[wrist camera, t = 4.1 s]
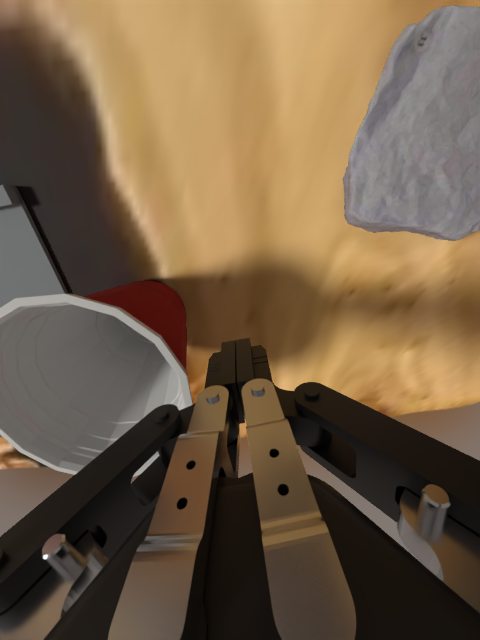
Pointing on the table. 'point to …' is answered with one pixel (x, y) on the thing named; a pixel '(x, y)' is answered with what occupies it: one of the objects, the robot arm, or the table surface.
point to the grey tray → (23, 253)
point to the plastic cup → (89, 369)
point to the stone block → (422, 133)
